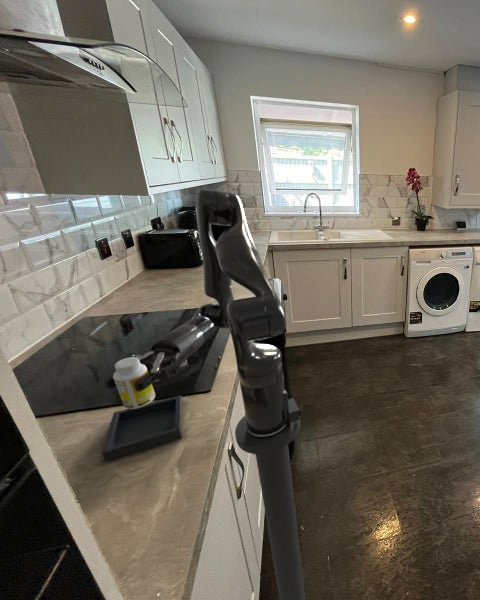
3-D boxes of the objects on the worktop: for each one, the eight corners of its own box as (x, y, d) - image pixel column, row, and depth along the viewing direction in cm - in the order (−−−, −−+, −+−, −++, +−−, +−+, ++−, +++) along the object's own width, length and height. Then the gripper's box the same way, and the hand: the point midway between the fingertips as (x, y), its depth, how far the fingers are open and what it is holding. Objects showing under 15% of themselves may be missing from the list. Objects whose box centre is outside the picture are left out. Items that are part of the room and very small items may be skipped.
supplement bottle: (159, 391, 74) (147, 353, 70) (150, 407, 69) (137, 367, 65) (130, 395, 72) (116, 356, 68) (119, 412, 67) (103, 372, 63)
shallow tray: (182, 403, 81) (180, 395, 80) (182, 438, 71) (179, 429, 70) (116, 420, 75) (113, 412, 74) (105, 462, 65) (101, 452, 64)
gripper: (148, 328, 80) (82, 368, 65) (204, 333, 79) (151, 374, 64) (156, 354, 83) (94, 398, 67) (210, 359, 82) (160, 404, 67)
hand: (122, 386), depth 66 cm, fingers closed on supplement bottle, 5 cm apart
